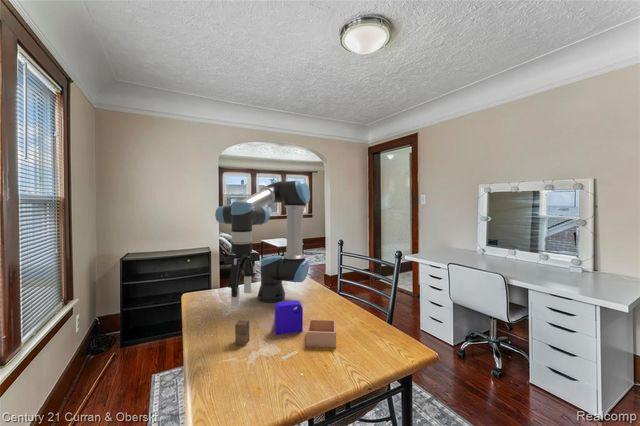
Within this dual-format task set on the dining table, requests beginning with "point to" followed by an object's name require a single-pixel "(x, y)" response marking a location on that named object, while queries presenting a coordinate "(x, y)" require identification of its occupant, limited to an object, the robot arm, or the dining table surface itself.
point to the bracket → (288, 317)
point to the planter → (321, 333)
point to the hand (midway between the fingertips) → (241, 298)
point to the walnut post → (242, 332)
